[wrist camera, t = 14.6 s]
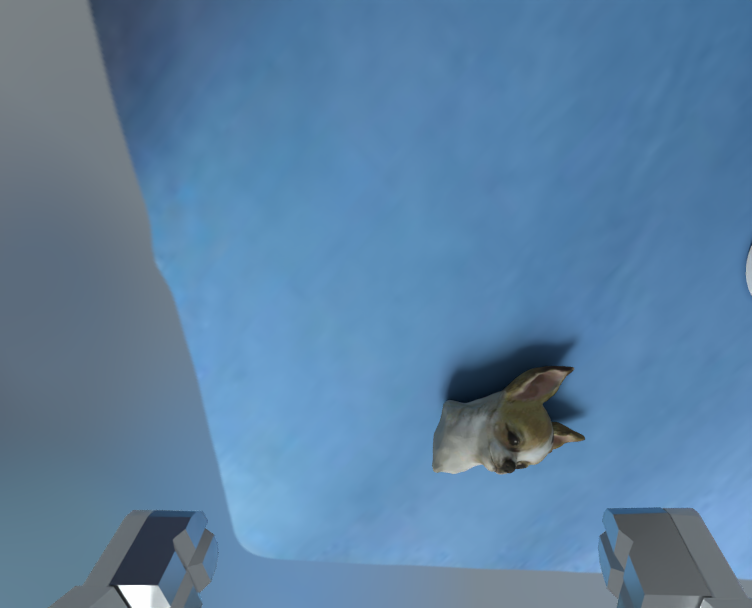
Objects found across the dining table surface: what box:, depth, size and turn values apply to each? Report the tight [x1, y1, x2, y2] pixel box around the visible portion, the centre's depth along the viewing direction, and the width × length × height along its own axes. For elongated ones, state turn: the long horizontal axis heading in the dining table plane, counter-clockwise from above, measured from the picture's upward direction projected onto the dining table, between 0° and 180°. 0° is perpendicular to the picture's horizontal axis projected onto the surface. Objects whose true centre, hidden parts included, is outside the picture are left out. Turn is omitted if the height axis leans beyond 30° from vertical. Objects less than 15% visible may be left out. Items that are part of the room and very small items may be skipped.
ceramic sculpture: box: [432, 366, 585, 474], centre depth 46 cm, size 11×9×15 cm
